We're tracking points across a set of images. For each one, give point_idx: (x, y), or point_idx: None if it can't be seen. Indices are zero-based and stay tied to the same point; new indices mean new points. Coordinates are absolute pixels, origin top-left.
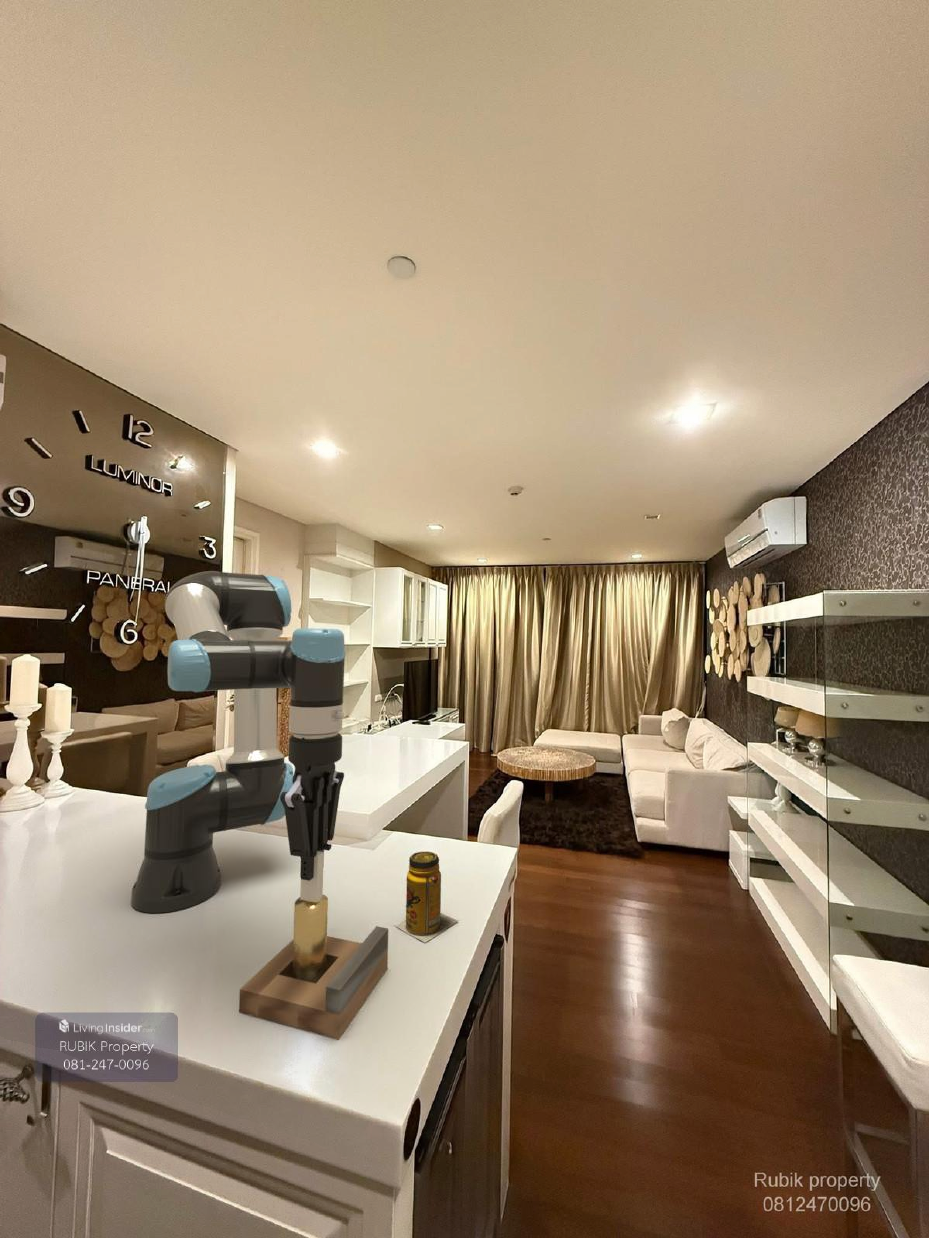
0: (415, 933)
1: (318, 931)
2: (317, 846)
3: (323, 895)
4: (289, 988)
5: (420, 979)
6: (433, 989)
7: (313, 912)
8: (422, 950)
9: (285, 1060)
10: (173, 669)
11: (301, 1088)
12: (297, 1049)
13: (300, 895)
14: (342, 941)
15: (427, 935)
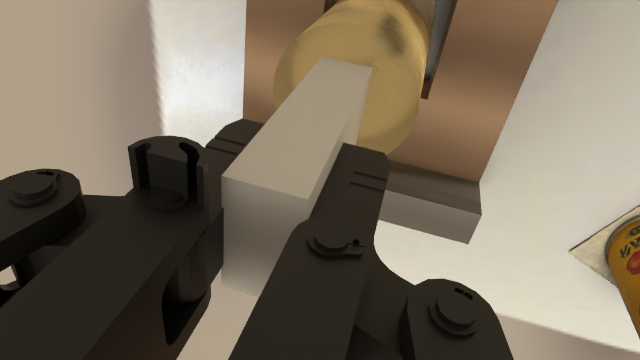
0: (614, 234)
1: None
2: (190, 334)
3: (401, 135)
4: (287, 11)
5: (431, 243)
6: (404, 262)
7: None
8: (538, 245)
9: (196, 51)
10: None
11: (164, 99)
12: (222, 63)
13: (317, 62)
14: (508, 88)
15: (605, 256)
